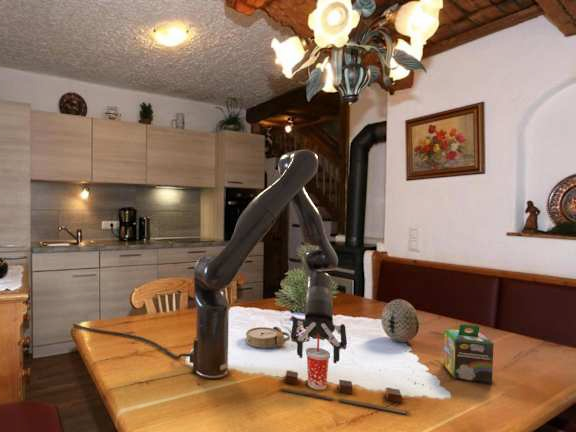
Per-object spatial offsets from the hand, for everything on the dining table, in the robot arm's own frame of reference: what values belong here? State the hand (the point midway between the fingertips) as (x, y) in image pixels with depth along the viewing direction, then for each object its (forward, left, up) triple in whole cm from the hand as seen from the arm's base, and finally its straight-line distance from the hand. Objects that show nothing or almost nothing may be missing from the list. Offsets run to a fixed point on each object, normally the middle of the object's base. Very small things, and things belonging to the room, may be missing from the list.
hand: (317, 359), depth 93 cm
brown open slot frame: (+12, -1, -7) cm, 15 cm away
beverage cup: (0, +1, -8) cm, 8 cm away
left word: (-3, -1, -7) cm, 8 cm away
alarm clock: (-17, +26, -8) cm, 32 cm away
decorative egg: (+27, +46, -8) cm, 54 cm away
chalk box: (+40, +24, -8) cm, 48 cm away
